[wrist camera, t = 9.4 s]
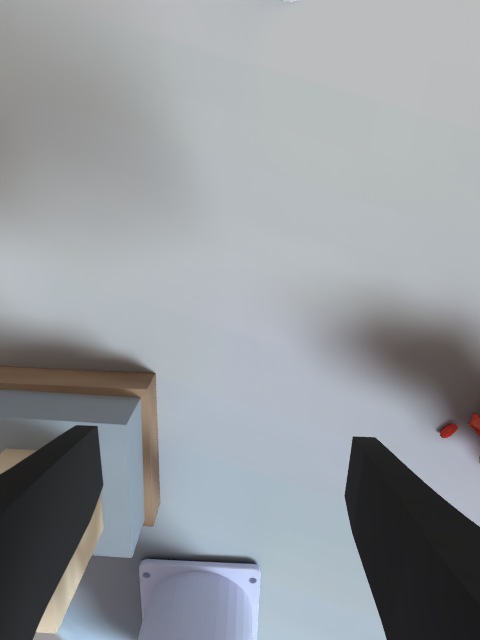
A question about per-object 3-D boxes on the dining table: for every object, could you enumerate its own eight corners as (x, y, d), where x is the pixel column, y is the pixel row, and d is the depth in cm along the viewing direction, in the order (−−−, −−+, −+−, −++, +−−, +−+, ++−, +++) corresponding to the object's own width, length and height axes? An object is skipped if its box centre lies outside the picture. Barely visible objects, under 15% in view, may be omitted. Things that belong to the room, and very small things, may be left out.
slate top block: (144, 519, 23) (132, 558, 20) (8, 510, 23) (-21, 547, 20) (141, 397, 20) (126, 425, 18) (-13, 388, 20) (-48, 414, 18)
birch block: (103, 528, 20) (56, 633, 15) (17, 523, 20) (-58, 626, 15) (97, 453, 18) (44, 542, 14) (5, 448, 18) (-81, 535, 14)
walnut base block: (162, 495, 25) (153, 526, 23) (24, 488, 25) (1, 518, 23) (158, 368, 22) (146, 389, 20) (3, 361, 23) (-27, 381, 20)
